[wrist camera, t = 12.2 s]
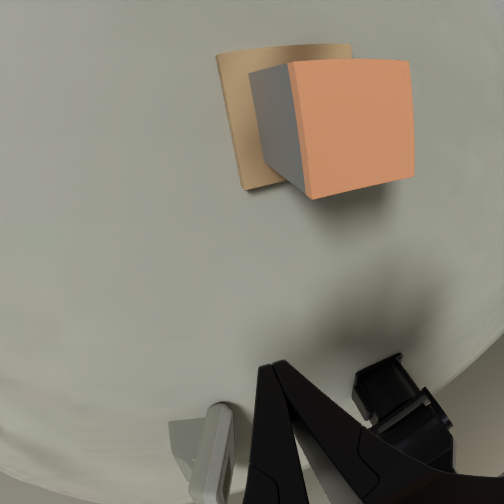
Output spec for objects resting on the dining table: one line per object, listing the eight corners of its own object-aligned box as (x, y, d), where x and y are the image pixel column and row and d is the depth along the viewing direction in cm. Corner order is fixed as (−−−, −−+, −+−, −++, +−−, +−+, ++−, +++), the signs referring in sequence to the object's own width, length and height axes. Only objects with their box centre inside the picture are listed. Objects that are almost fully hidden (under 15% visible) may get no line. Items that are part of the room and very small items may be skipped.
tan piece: (343, 45, 15) (404, 36, 10) (356, 161, 19) (412, 189, 14) (215, 56, 14) (235, 37, 9) (241, 186, 18) (269, 225, 13)
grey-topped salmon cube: (333, 65, 15) (408, 61, 9) (343, 146, 18) (414, 176, 12) (248, 73, 14) (293, 61, 9) (264, 161, 17) (312, 199, 11)
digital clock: (230, 456, 36) (248, 519, 27) (167, 459, 33) (177, 526, 24) (257, 395, 29) (288, 485, 20) (169, 398, 26) (182, 497, 17)
